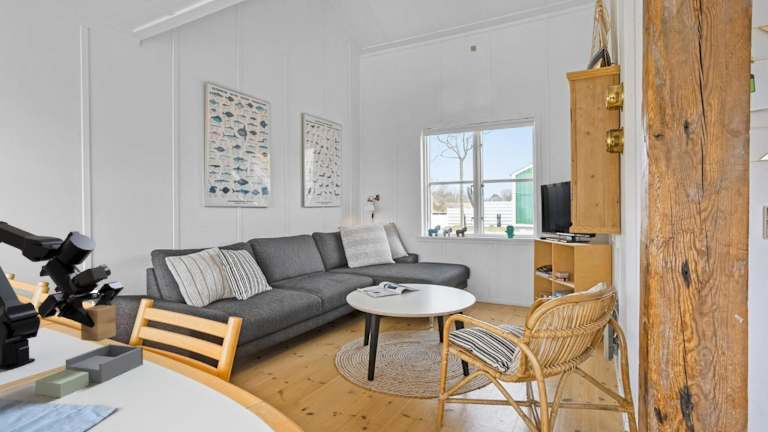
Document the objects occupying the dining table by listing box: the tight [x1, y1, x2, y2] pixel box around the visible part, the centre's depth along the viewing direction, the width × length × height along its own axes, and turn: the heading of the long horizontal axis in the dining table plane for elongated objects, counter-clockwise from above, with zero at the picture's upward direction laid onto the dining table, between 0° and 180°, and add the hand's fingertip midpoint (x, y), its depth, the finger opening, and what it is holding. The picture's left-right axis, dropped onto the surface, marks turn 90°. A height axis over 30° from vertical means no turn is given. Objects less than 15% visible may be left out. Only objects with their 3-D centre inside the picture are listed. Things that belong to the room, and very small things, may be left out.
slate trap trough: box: [65, 343, 144, 384], centre depth 103 cm, size 11×12×4 cm
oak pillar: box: [80, 305, 117, 342], centre depth 101 cm, size 5×5×8 cm
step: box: [35, 369, 90, 399], centre depth 93 cm, size 7×6×3 cm
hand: (103, 323), depth 101 cm, fingers closed on oak pillar, 5 cm apart
